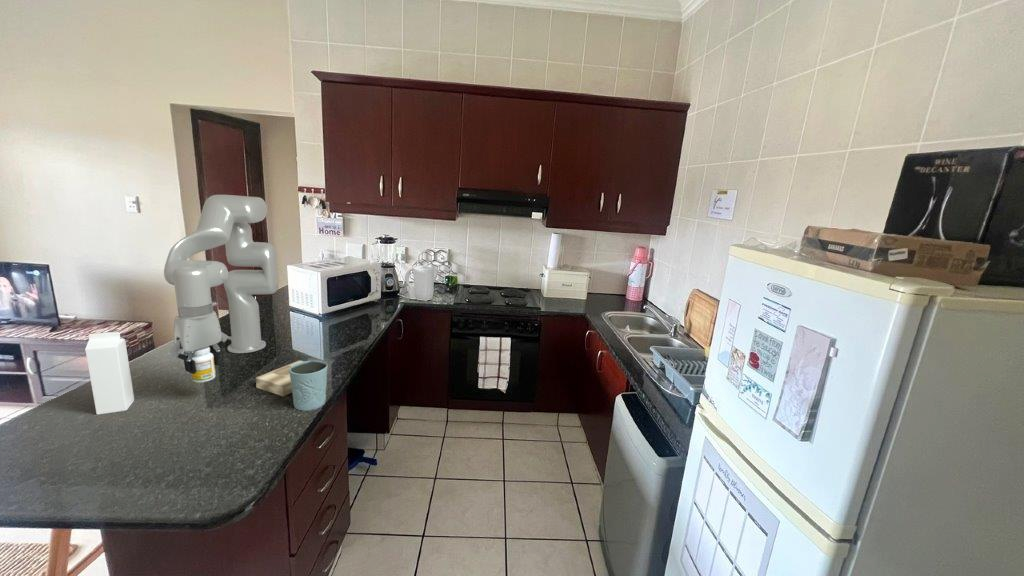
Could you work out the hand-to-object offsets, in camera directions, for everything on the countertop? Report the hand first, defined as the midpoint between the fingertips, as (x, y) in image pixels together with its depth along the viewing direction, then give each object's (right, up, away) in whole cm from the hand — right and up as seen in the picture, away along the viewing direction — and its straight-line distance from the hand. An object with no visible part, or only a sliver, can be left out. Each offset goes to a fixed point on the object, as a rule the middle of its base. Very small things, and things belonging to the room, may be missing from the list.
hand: (203, 367), depth 111 cm
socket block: (+17, -8, +16) cm, 25 cm away
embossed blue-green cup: (+29, -12, +4) cm, 32 cm away
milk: (-20, -10, -5) cm, 23 cm away
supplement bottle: (0, -4, +1) cm, 4 cm away
